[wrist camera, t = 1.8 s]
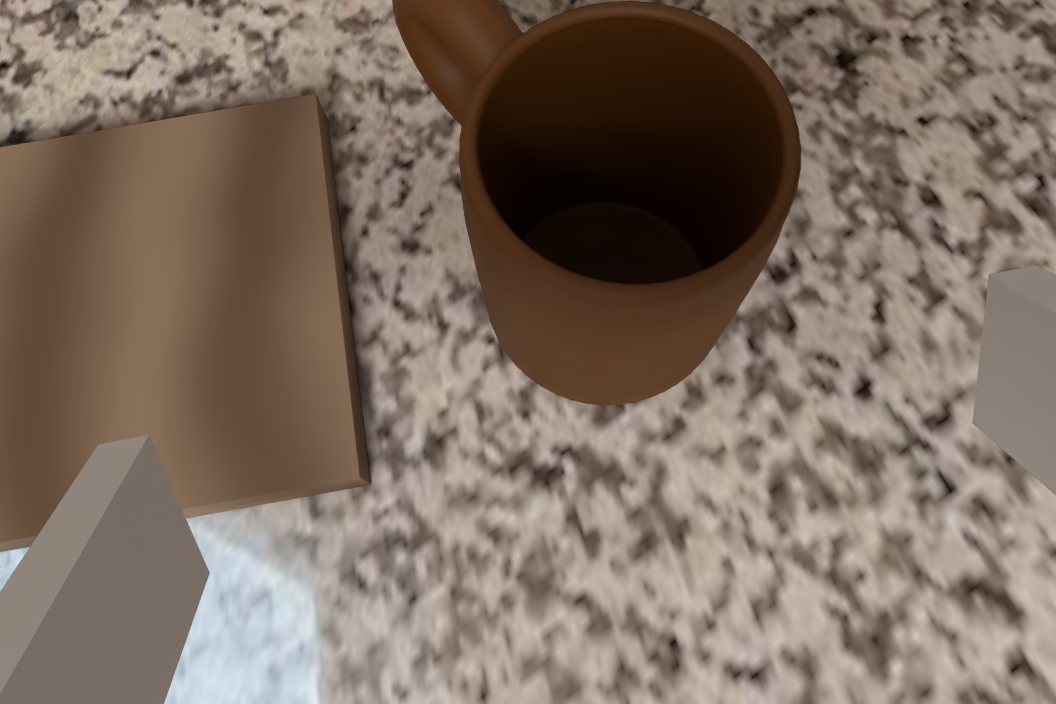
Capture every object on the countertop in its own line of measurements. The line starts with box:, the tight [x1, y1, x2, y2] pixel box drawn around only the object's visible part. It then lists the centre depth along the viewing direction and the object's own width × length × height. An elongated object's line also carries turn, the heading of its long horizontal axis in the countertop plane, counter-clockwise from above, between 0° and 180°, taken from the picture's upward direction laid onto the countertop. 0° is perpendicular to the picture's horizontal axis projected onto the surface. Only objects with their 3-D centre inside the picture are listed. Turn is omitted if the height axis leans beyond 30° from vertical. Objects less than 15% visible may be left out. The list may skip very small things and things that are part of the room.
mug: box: [392, 0, 801, 405], centre depth 22 cm, size 12×8×9 cm, turn 42°
